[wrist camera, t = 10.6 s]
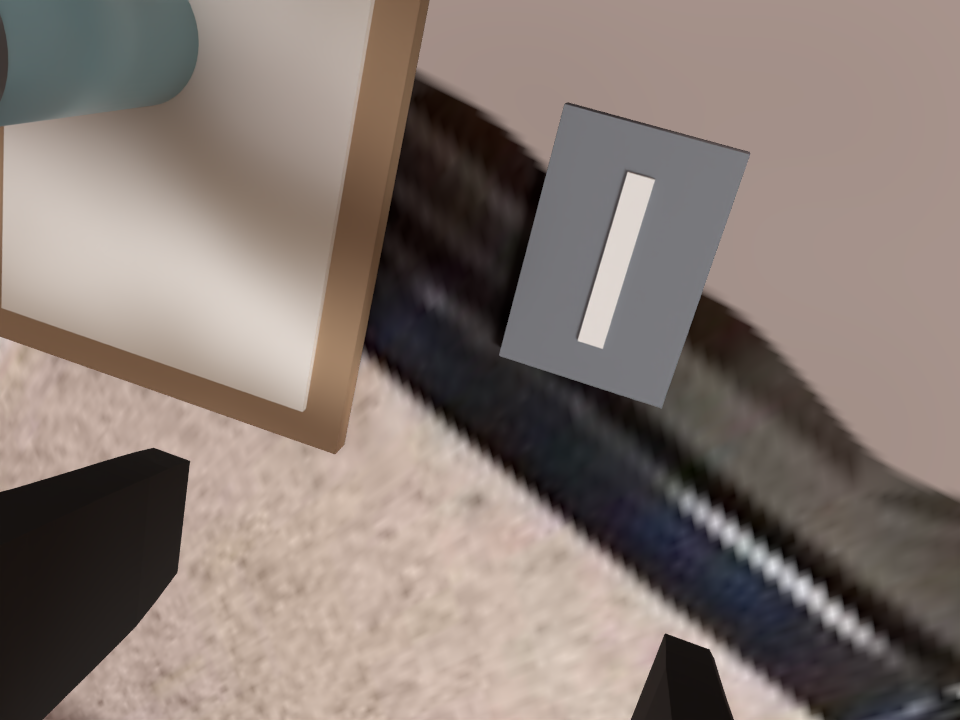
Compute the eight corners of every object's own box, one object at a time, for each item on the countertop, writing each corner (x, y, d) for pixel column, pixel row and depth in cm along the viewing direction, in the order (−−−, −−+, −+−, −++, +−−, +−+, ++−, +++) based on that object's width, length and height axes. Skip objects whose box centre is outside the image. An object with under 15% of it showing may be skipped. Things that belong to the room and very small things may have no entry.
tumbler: (193, 127, 21) (-40, 171, 15) (68, 88, 22) (-210, 114, 15) (211, -26, 20) (-38, -49, 13) (76, -64, 20) (-225, -105, 14)
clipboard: (344, 444, 24) (327, 462, 23) (-9, 321, 26) (-39, 333, 25) (455, -138, 18) (439, -147, 17) (-3, -246, 20) (-42, -260, 19)
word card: (662, 401, 21) (660, 410, 21) (503, 350, 22) (497, 357, 21) (749, 152, 19) (750, 155, 18) (567, 102, 19) (563, 104, 19)
